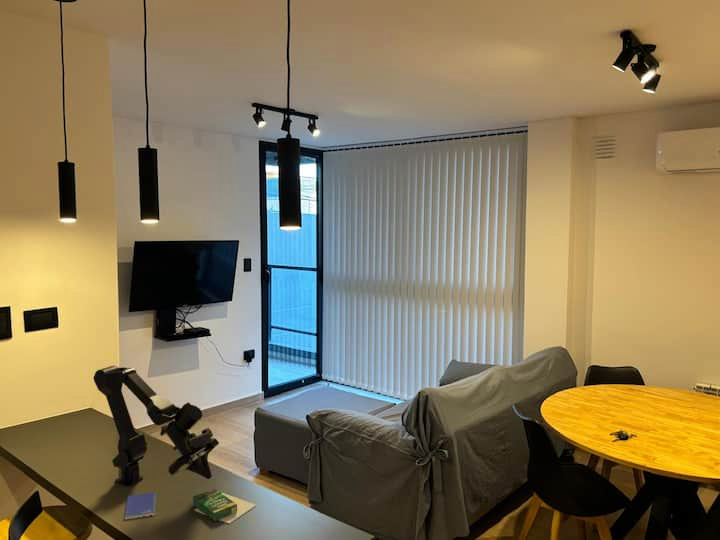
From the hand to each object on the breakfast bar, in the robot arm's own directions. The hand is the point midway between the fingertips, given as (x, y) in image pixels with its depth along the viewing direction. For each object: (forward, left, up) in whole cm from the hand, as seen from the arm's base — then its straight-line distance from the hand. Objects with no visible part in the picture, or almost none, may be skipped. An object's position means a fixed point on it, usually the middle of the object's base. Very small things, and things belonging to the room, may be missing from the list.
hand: (210, 477), depth 172 cm
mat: (+7, -1, -8) cm, 10 cm away
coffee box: (-2, -1, -6) cm, 6 cm away
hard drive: (-15, -14, -8) cm, 22 cm away
